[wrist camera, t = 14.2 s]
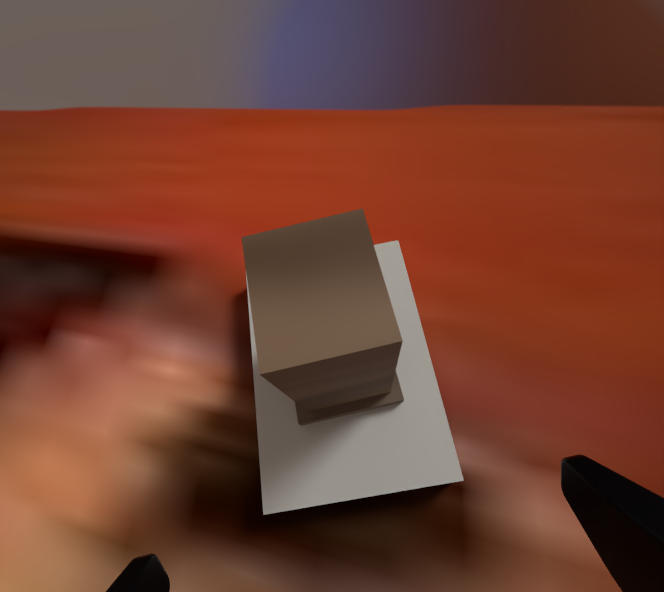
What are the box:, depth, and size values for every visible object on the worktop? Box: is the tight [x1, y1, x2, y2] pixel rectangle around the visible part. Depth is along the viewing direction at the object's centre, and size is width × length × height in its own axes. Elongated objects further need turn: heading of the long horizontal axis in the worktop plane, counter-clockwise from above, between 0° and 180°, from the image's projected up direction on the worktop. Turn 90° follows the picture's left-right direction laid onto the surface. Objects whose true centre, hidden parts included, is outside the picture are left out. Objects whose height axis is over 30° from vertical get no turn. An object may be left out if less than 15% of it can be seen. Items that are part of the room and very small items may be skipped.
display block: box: [246, 241, 464, 515], centre depth 22 cm, size 14×10×2 cm
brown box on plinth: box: [242, 209, 404, 426], centre depth 17 cm, size 6×6×10 cm
